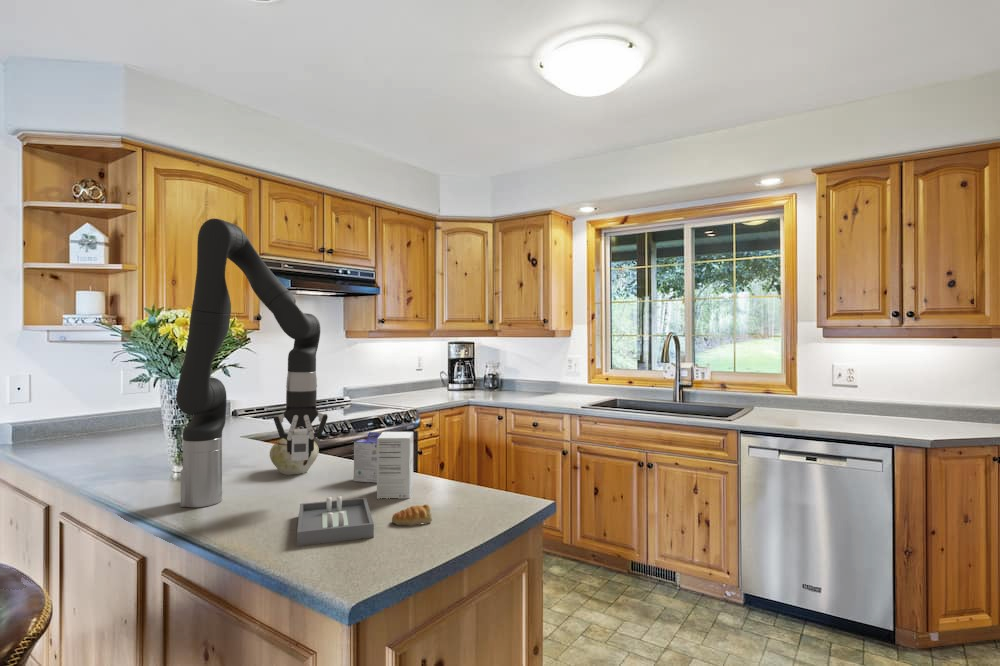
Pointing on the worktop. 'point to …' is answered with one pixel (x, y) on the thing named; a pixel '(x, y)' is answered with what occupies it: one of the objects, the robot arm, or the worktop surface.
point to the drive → (300, 444)
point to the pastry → (413, 515)
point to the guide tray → (334, 521)
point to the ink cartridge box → (366, 459)
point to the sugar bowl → (290, 458)
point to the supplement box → (394, 465)
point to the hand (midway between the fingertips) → (300, 453)
